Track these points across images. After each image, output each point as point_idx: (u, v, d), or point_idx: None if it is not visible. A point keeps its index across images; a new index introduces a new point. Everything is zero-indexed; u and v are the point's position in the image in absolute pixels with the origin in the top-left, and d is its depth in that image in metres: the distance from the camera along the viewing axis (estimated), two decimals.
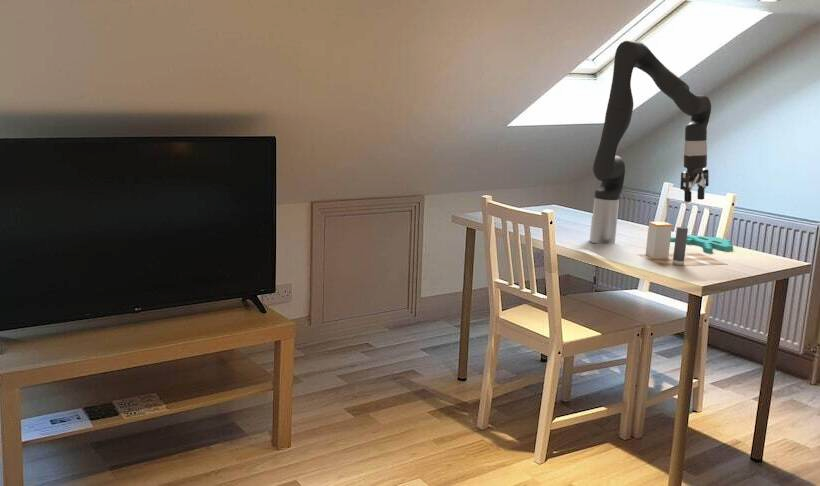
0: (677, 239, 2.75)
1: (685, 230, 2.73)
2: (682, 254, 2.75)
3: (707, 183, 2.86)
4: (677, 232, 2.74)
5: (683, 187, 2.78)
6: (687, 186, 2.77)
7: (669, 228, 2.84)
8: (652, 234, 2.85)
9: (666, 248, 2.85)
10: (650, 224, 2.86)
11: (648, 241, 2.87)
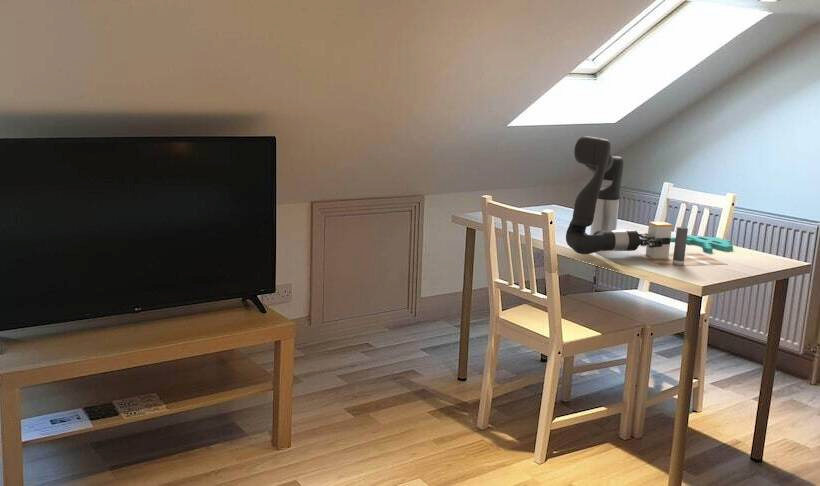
0: (677, 239, 2.75)
1: (685, 230, 2.73)
2: (682, 254, 2.75)
3: None
4: (677, 232, 2.74)
5: None
6: None
7: (669, 228, 2.84)
8: (652, 234, 2.85)
9: (666, 248, 2.85)
10: (650, 224, 2.86)
11: None
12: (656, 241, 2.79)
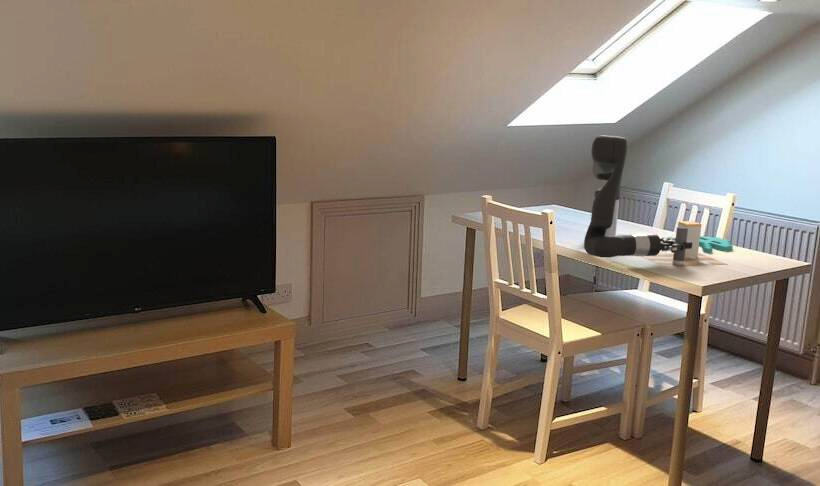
0: (677, 239, 2.75)
1: (685, 230, 2.73)
2: (682, 254, 2.75)
3: None
4: (677, 232, 2.74)
5: None
6: None
7: (698, 227, 2.87)
8: None
9: (695, 247, 2.89)
10: (679, 224, 2.89)
11: None
12: (679, 246, 2.69)
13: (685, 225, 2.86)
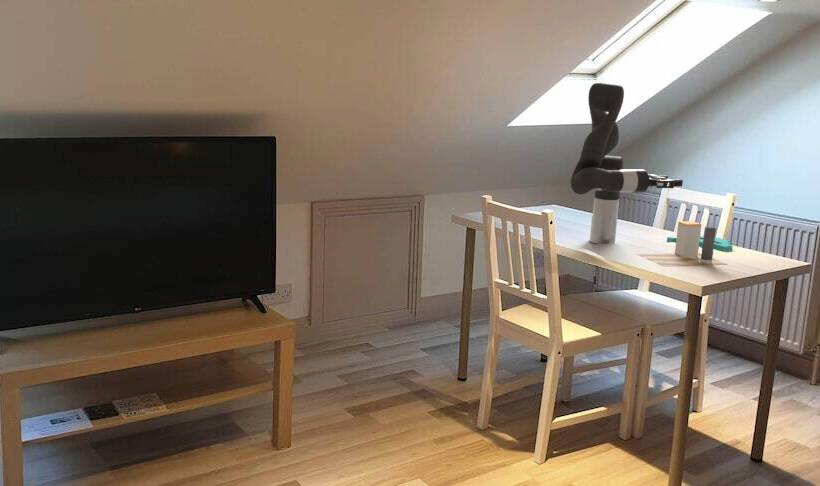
0: (705, 238, 2.78)
1: (713, 229, 2.76)
2: (710, 253, 2.78)
3: None
4: (705, 231, 2.77)
5: None
6: None
7: (698, 227, 2.87)
8: (682, 233, 2.88)
9: (695, 247, 2.89)
10: (679, 224, 2.89)
11: (678, 240, 2.90)
12: (665, 181, 2.61)
13: (685, 225, 2.86)
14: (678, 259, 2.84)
